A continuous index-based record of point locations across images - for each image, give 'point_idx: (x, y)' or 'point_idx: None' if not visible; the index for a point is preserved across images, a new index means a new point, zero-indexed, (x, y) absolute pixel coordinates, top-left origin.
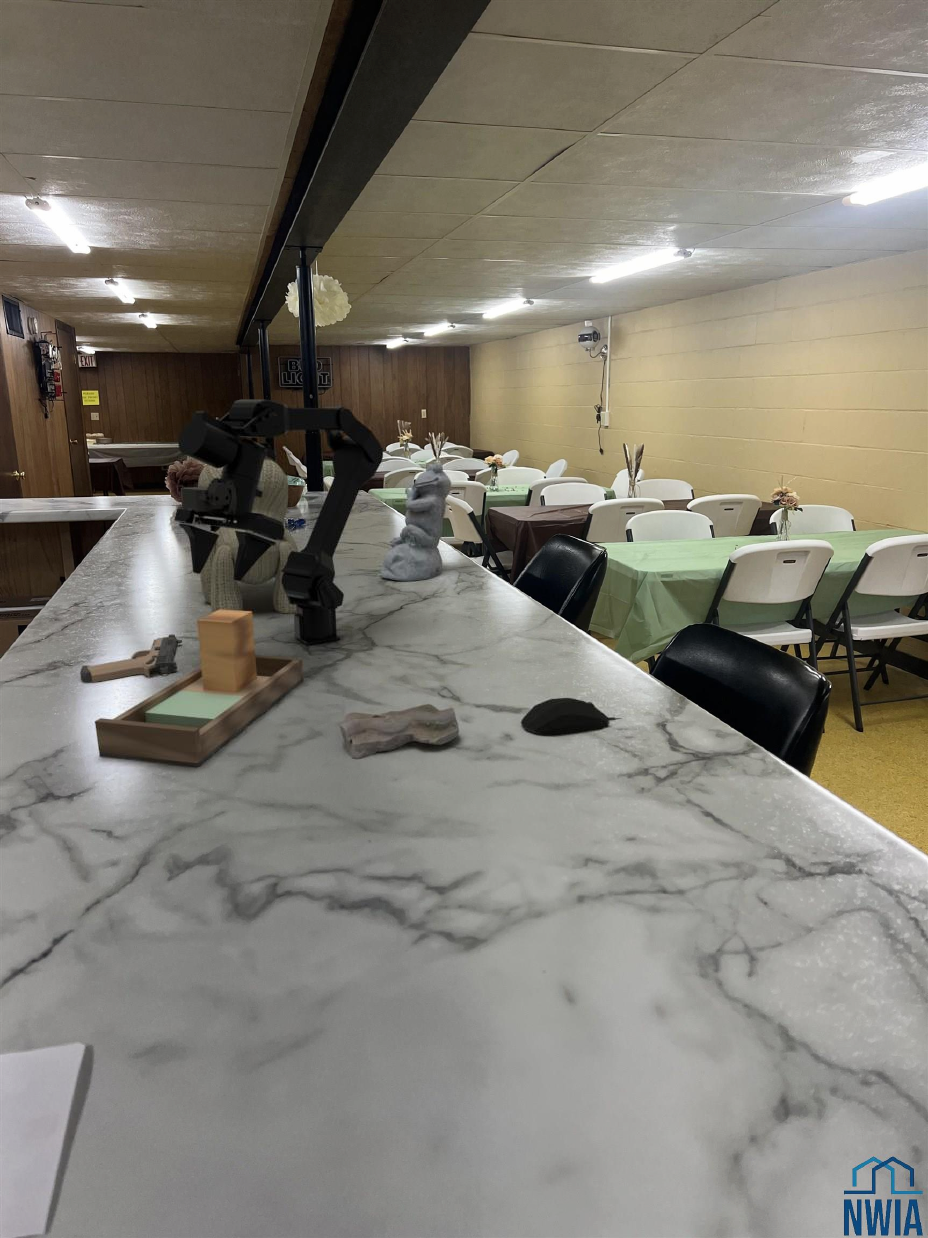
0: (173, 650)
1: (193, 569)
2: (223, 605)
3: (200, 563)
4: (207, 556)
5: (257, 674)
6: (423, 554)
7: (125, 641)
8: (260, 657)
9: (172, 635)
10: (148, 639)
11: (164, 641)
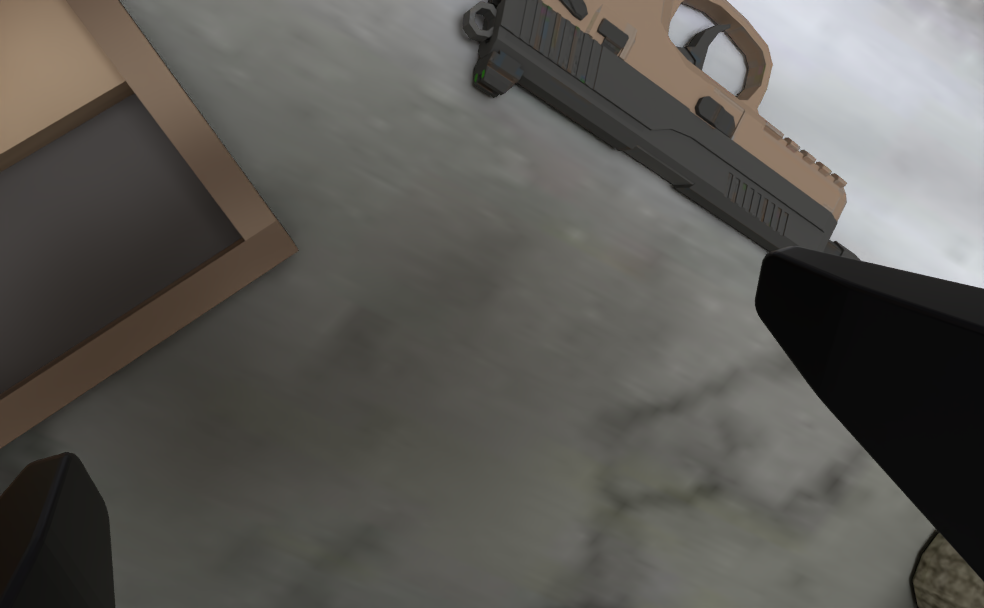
0: (687, 185)
1: (805, 254)
2: None
3: (842, 355)
4: (916, 487)
5: (104, 327)
6: None
7: (951, 131)
8: (61, 365)
9: None
10: (915, 209)
11: (780, 189)
